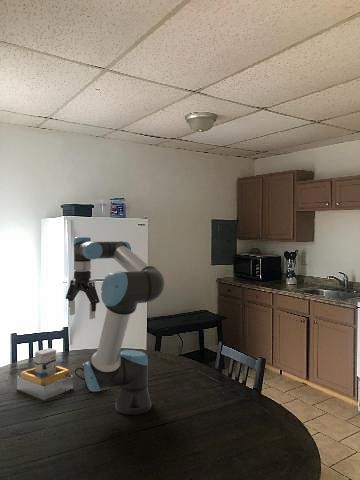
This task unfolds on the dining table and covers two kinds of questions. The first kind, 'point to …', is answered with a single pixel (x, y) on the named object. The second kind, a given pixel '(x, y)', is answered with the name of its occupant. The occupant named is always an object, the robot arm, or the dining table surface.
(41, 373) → the ink box
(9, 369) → the dining table surface
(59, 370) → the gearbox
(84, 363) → the coffee mug
